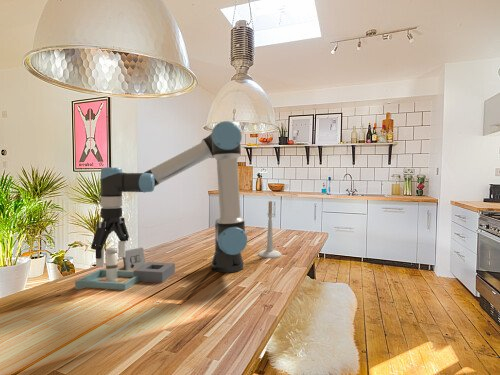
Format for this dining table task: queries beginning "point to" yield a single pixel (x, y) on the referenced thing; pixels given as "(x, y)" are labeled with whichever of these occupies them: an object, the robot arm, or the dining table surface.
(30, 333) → the dining table surface
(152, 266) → the fuse holder
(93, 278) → the parts tray
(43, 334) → the dining table surface
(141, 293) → the dining table surface
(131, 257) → the electrical switch
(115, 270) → the cylinder
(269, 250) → the candlestick
